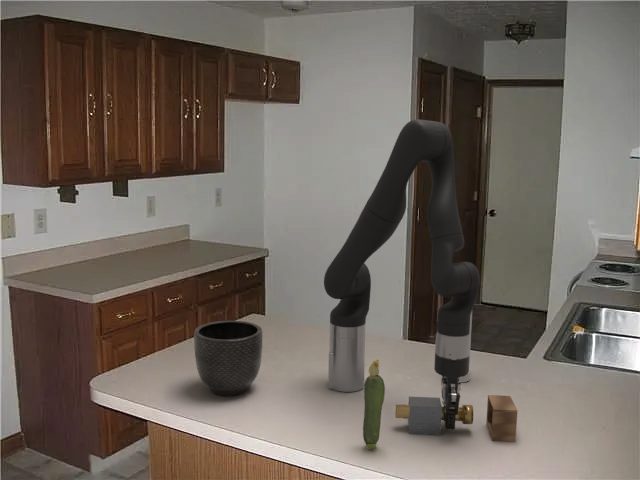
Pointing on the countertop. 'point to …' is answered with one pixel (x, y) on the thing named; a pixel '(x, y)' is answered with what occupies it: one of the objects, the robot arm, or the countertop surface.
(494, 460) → the countertop surface
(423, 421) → the sleeve
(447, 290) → the robot arm
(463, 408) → the tube
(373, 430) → the vegetable
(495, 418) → the socket
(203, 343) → the planter
